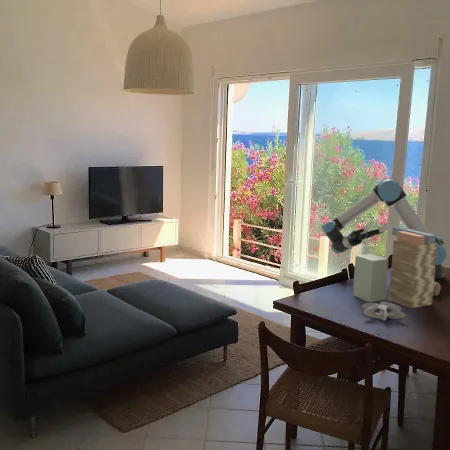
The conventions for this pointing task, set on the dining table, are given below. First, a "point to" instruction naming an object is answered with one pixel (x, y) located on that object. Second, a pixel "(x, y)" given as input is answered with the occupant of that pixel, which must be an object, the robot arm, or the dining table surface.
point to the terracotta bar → (410, 238)
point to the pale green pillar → (370, 277)
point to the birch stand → (412, 274)
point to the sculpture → (383, 306)
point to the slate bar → (428, 237)
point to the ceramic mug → (436, 289)
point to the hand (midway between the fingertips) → (378, 227)
